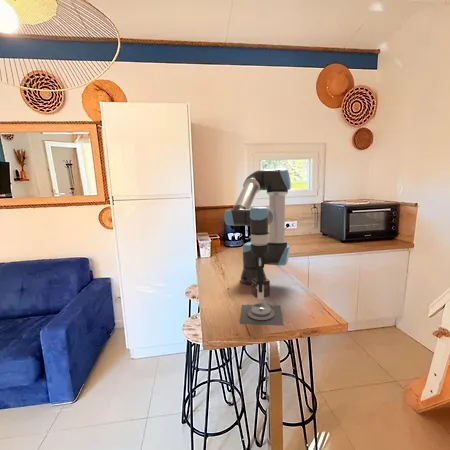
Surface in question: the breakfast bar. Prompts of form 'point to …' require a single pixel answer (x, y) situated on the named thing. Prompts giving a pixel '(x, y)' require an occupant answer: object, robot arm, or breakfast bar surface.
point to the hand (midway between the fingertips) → (260, 294)
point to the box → (266, 287)
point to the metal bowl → (261, 312)
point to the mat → (274, 321)
